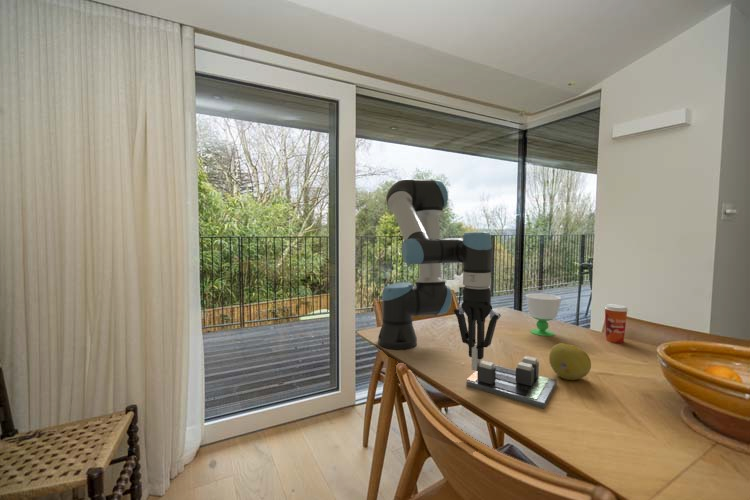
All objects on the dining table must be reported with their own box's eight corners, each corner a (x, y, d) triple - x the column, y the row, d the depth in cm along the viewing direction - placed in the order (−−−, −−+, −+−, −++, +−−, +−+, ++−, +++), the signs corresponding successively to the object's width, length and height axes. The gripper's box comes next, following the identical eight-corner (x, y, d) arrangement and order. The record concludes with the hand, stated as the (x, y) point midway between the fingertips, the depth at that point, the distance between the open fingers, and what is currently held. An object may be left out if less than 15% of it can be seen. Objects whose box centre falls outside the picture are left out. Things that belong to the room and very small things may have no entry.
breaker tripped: (477, 380, 93) (477, 363, 93) (481, 376, 96) (481, 359, 95) (491, 384, 91) (492, 366, 91) (495, 380, 93) (495, 363, 93)
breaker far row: (521, 375, 97) (521, 358, 96) (523, 371, 99) (524, 355, 99) (536, 378, 94) (536, 361, 94) (538, 375, 96) (538, 358, 96)
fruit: (590, 388, 92) (591, 353, 92) (547, 379, 98) (548, 346, 98) (590, 375, 101) (591, 342, 100) (550, 367, 107) (551, 336, 106)
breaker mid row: (515, 382, 92) (515, 364, 92) (518, 378, 95) (519, 361, 94) (531, 386, 90) (531, 367, 89) (533, 382, 92) (534, 364, 92)
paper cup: (605, 342, 130) (607, 307, 129) (600, 336, 137) (601, 303, 136) (630, 345, 127) (631, 308, 126) (623, 339, 134) (625, 304, 133)
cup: (561, 331, 144) (562, 295, 144) (559, 340, 133) (560, 300, 132) (527, 326, 152) (527, 292, 151) (522, 334, 140) (523, 297, 139)
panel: (465, 385, 95) (465, 379, 94) (485, 367, 107) (486, 362, 107) (543, 408, 82) (544, 402, 82) (556, 385, 95) (556, 379, 94)
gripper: (449, 286, 95) (449, 367, 96) (495, 291, 87) (494, 379, 88) (460, 283, 101) (460, 359, 102) (504, 287, 92) (503, 370, 94)
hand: (476, 368), depth 95 cm, fingers closed
